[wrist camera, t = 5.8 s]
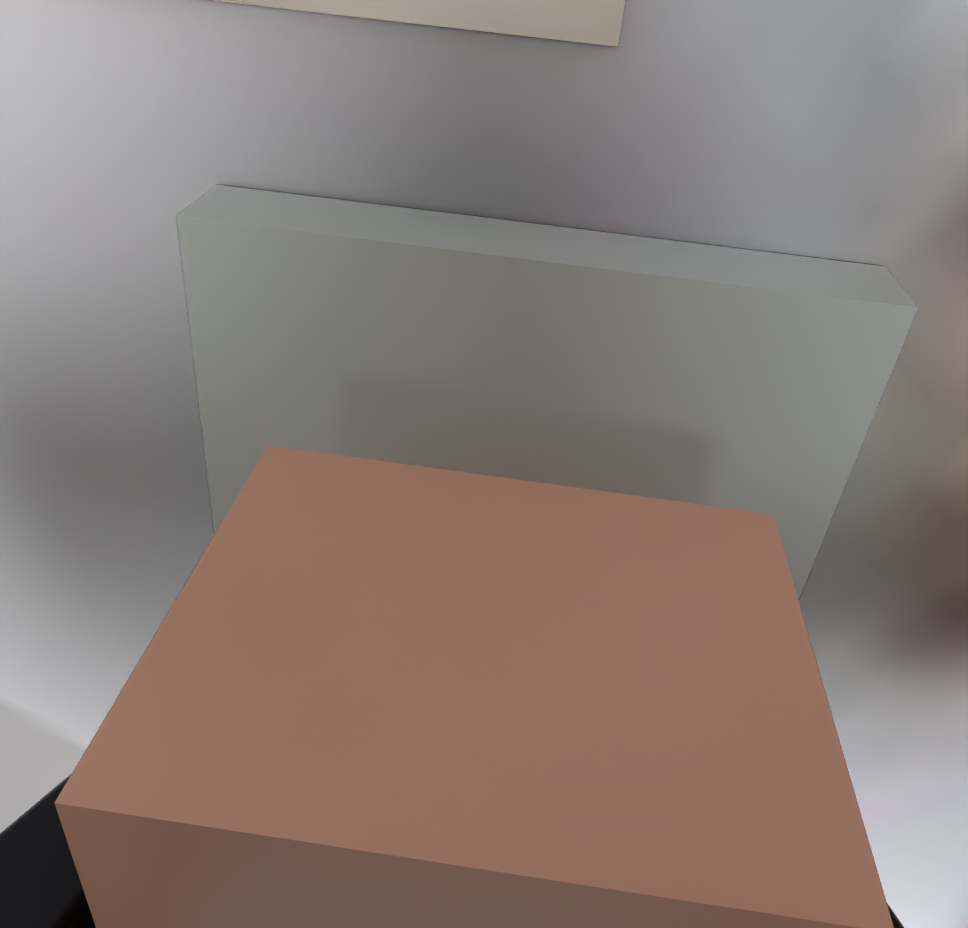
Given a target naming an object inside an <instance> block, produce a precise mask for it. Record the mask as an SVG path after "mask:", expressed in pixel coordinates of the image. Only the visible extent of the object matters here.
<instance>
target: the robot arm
mask: <svg viewBox="0 0 968 928" xmlns="http://www.w3.org/2000/svg"><path fill="white" fill-rule="evenodd" d="M70 776H71V775H69V776H68V777H67V778H66V779H65V780H63V781H62V782H61V783H60V784H59V785H57V786H56V787H55V788H54V789H53V790H52V791H50V792H49V793H48V794H47V795H45V796H44V797H43V798H42V799H41V800H40V801H38V802H37V803H36V804H35V805H34V806H32V807H31V808H30V809H29V810H28V811H26V812H25V813H24V814H23V815H22V816H20V817H19V818H18V819H17V820H16V821H15V822H13V823H12V824H11V825H10V826H9V827H7V828H6V829H5V830H4V831H3V832H1V833H0V928H96V926H95V923H94V920H93V917H92V914H91V911H90V908H89V905H88V902H87V899H86V896H85V893H84V890H83V887H82V884H81V881H80V878H79V875H78V872H77V869H76V866H75V863H74V860H73V857H72V854H71V851H70V848H69V845H68V842H67V839H66V836H65V833H64V830H63V827H62V824H61V821H60V818H59V815H58V812H57V809H56V806H55V801H56V799H57V798H58V796H59V794H60V793H61V791H62V789H63V788H64V786H65V784H66V783H67V781H68V779H69V778H70ZM887 906H888V909H889V913H890V916H891V920H892V923H893V927H894V928H904V927H903V925H902V924H901V922H900V921H899V919H898V918H897V917H896V915H895V914H894V912H893V911H892V909H891V908H890V906H889V905H888V904H887Z"/></svg>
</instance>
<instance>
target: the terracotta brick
mask: <svg viewBox="0 0 968 928" xmlns="http://www.w3.org/2000/svg"><path fill="white" fill-rule="evenodd" d="M55 806H56V809H57V812H58V815H59V818H60V821H61V824H62V827H63V830H64V833H65V836H66V839H67V842H68V845H69V848H70V851H71V854H72V857H73V860H74V863H75V866H76V869H77V872H78V875H79V878H80V881H81V884H82V887H83V890H84V893H85V896H86V899H87V902H88V905H89V908H90V911H91V914H92V917H93V920H94V923H95V926H96V928H894V927H893V923H892V920H891V916H890V913H889V909H888V906H887V902H886V899H885V896H884V892H883V889H882V885H881V882H880V878H879V875H878V872H877V868H876V865H875V861H874V858H873V854H872V851H871V848H870V844H869V841H868V837H867V834H866V830H865V827H864V824H863V820H862V817H861V813H860V810H859V806H858V803H857V800H856V796H855V793H854V789H853V786H852V782H851V779H850V775H849V772H848V769H847V765H846V762H845V758H844V755H843V751H842V748H841V745H840V741H839V738H838V734H837V731H836V727H835V724H834V721H833V717H832V714H831V710H830V707H829V703H828V700H827V697H826V693H825V690H824V686H823V683H822V679H821V676H820V672H819V669H818V666H817V662H816V659H815V655H814V652H813V648H812V645H811V642H810V638H809V635H808V631H807V628H806V624H805V621H804V618H803V614H802V611H801V607H800V604H799V600H798V597H797V594H796V590H795V587H794V583H793V580H792V576H791V573H790V570H789V566H788V563H787V559H786V556H785V552H784V549H783V545H782V542H781V539H780V535H779V532H778V528H777V525H776V521H775V518H774V515H773V514H767V513H760V512H752V511H745V510H738V509H730V508H723V507H716V506H708V505H701V504H694V503H686V502H679V501H672V500H664V499H657V498H650V497H642V496H635V495H628V494H620V493H613V492H606V491H598V490H591V489H584V488H576V487H569V486H562V485H554V484H547V483H540V482H532V481H525V480H518V479H510V478H503V477H496V476H488V475H481V474H474V473H466V472H459V471H452V470H444V469H437V468H430V467H422V466H415V465H408V464H400V463H393V462H386V461H378V460H371V459H364V458H356V457H349V456H342V455H334V454H327V453H320V452H312V451H305V450H298V449H290V448H283V447H276V446H267V447H266V449H265V451H264V452H263V454H262V456H261V457H260V459H259V461H258V462H257V464H256V466H255V467H254V469H253V471H252V473H251V474H250V476H249V478H248V479H247V481H246V483H245V484H244V486H243V488H242V489H241V491H240V493H239V494H238V496H237V498H236V499H235V501H234V503H233V504H232V506H231V508H230V509H229V511H228V513H227V514H226V516H225V518H224V519H223V521H222V523H221V524H220V526H219V528H218V530H217V531H216V533H215V535H214V536H213V538H212V540H211V541H210V543H209V545H208V546H207V548H206V550H205V551H204V553H203V555H202V556H201V558H200V560H199V561H198V563H197V565H196V566H195V568H194V570H193V571H192V573H191V575H190V576H189V578H188V580H187V582H186V583H185V585H184V587H183V588H182V590H181V592H180V593H179V595H178V597H177V598H176V600H175V602H174V603H173V605H172V607H171V608H170V610H169V612H168V613H167V615H166V617H165V618H164V620H163V622H162V623H161V625H160V627H159V628H158V630H157V632H156V633H155V635H154V637H153V639H152V640H151V642H150V644H149V645H148V647H147V649H146V650H145V652H144V654H143V655H142V657H141V659H140V660H139V662H138V664H137V665H136V667H135V669H134V670H133V672H132V674H131V675H130V677H129V679H128V680H127V682H126V684H125V685H124V687H123V689H122V690H121V692H120V694H119V696H118V697H117V699H116V701H115V702H114V704H113V706H112V707H111V709H110V711H109V712H108V714H107V716H106V717H105V719H104V721H103V722H102V724H101V726H100V727H99V729H98V731H97V732H96V734H95V736H94V737H93V739H92V741H91V742H90V744H89V746H88V747H87V749H86V751H85V753H84V754H83V756H82V758H81V759H80V761H79V763H78V764H77V766H76V768H75V769H74V771H73V773H72V774H71V776H70V778H69V779H68V781H67V783H66V784H65V786H64V788H63V789H62V791H61V793H60V794H59V796H58V798H57V799H56V801H55Z"/></svg>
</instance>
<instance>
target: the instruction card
mask: <svg viewBox="0 0 968 928" xmlns="http://www.w3.org/2000/svg"><path fill="white" fill-rule="evenodd" d="M211 1H220V2H229V3H238V4H246V5H255V6H264V7H273V8H282V9H290V10H299V11H308V12H317V13H326V14H334V15H343V16H352V17H361V18H369V19H378V20H387V21H396V22H405V23H413V24H422V25H431V26H440V27H449V28H457V29H466V30H475V31H484V32H493V33H501V34H510V35H519V36H528V37H536V38H545V39H554V40H563V41H572V42H580V43H589V44H598V45H607V46H616V47H618V45H619V38H620V32H621V26H622V20H623V14H624V7H625V1H626V0H211Z"/></svg>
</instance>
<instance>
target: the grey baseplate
mask: <svg viewBox="0 0 968 928" xmlns="http://www.w3.org/2000/svg"><path fill="white" fill-rule="evenodd" d="M176 220H177V229H178V237H179V245H180V254H181V262H182V270H183V279H184V287H185V295H186V304H187V312H188V320H189V329H190V337H191V346H192V354H193V362H194V371H195V379H196V387H197V396H198V404H199V412H200V421H201V429H202V437H203V446H204V454H205V463H206V471H207V479H208V488H209V496H210V504H211V513H212V521H213V529H214V535H215V533H216V531H217V530H218V528H219V526H220V524H221V523H222V521H223V519H224V518H225V516H226V514H227V513H228V511H229V509H230V508H231V506H232V504H233V503H234V501H235V499H236V498H237V496H238V494H239V493H240V491H241V489H242V488H243V486H244V484H245V483H246V481H247V479H248V478H249V476H250V474H251V473H252V471H253V469H254V467H255V466H256V464H257V462H258V461H259V459H260V457H261V456H262V454H263V452H264V451H265V449H266V447H267V446H276V447H283V448H290V449H298V450H305V451H312V452H320V453H327V454H334V455H342V456H349V457H356V458H364V459H371V460H378V461H386V462H393V463H400V464H408V465H415V466H422V467H430V468H437V469H444V470H452V471H459V472H466V473H474V474H481V475H488V476H496V477H503V478H510V479H518V480H525V481H532V482H540V483H547V484H554V485H562V486H569V487H576V488H584V489H591V490H598V491H606V492H613V493H620V494H628V495H635V496H642V497H650V498H657V499H664V500H672V501H679V502H686V503H694V504H701V505H708V506H716V507H723V508H730V509H738V510H745V511H752V512H760V513H767V514H773V515H774V518H775V521H776V525H777V528H778V532H779V535H780V539H781V542H782V545H783V549H784V552H785V556H786V559H787V563H788V566H789V570H790V573H791V576H792V580H793V583H794V587H795V590H796V594H797V597H798V600H799V598H800V596H801V594H802V591H803V589H804V586H805V584H806V581H807V579H808V576H809V574H810V571H811V569H812V567H813V564H814V562H815V559H816V557H817V554H818V552H819V549H820V547H821V545H822V542H823V540H824V537H825V535H826V532H827V530H828V527H829V525H830V523H831V520H832V518H833V515H834V513H835V510H836V508H837V505H838V503H839V501H840V498H841V496H842V493H843V491H844V488H845V486H846V483H847V481H848V479H849V476H850V474H851V471H852V469H853V466H854V464H855V461H856V459H857V456H858V454H859V452H860V449H861V447H862V444H863V442H864V439H865V437H866V434H867V432H868V430H869V427H870V425H871V422H872V420H873V417H874V415H875V412H876V410H877V408H878V405H879V403H880V400H881V398H882V395H883V393H884V390H885V388H886V386H887V383H888V381H889V378H890V376H891V373H892V371H893V368H894V366H895V364H896V361H897V359H898V356H899V354H900V351H901V349H902V346H903V344H904V341H905V339H906V337H907V334H908V332H909V329H910V327H911V324H912V322H913V319H914V317H915V315H916V312H917V310H918V307H917V305H916V304H915V303H914V302H913V300H912V299H911V298H910V297H909V295H908V294H907V293H906V292H905V290H904V289H903V288H902V286H901V285H900V284H899V283H898V281H897V280H896V279H895V278H894V276H893V275H892V274H891V273H890V271H889V270H888V269H887V268H886V266H878V265H869V264H861V263H853V262H845V261H837V260H829V259H820V258H812V257H804V256H796V255H788V254H780V253H771V252H763V251H755V250H747V249H739V248H731V247H722V246H714V245H706V244H698V243H690V242H682V241H673V240H665V239H657V238H649V237H641V236H633V235H624V234H616V233H608V232H600V231H592V230H584V229H575V228H567V227H559V226H551V225H543V224H535V223H526V222H518V221H510V220H502V219H494V218H486V217H477V216H469V215H461V214H453V213H445V212H437V211H428V210H420V209H412V208H404V207H396V206H388V205H379V204H371V203H363V202H355V201H347V200H339V199H330V198H322V197H314V196H306V195H298V194H290V193H281V192H273V191H265V190H257V189H249V188H241V187H232V186H224V185H215V186H214V187H213V188H211V189H210V190H209V191H207V192H206V193H205V194H204V195H202V196H201V197H200V198H198V199H197V200H196V201H194V202H193V203H192V204H190V205H189V206H188V207H186V208H185V209H184V210H182V211H181V212H180V213H179V214H177V215H176Z"/></svg>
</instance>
